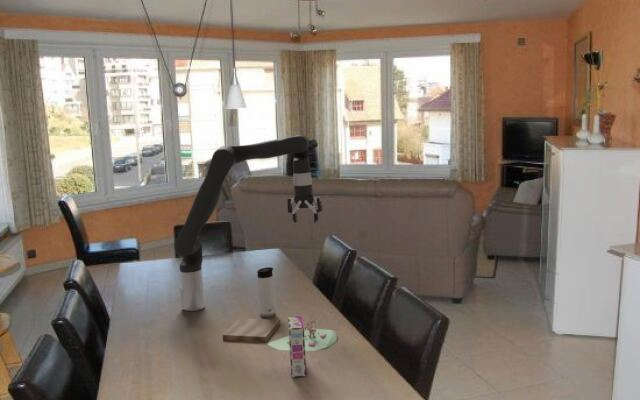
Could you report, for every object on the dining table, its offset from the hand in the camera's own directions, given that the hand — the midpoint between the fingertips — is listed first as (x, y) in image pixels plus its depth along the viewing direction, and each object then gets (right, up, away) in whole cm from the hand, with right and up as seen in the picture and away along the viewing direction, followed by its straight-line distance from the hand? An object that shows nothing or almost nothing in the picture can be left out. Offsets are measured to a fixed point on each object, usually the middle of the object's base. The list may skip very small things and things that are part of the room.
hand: (305, 222), depth 244 cm
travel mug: (-16, -39, 0) cm, 42 cm away
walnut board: (-20, -42, -18) cm, 50 cm away
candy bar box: (-1, -46, -52) cm, 70 cm away
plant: (0, -43, -29) cm, 52 cm away
